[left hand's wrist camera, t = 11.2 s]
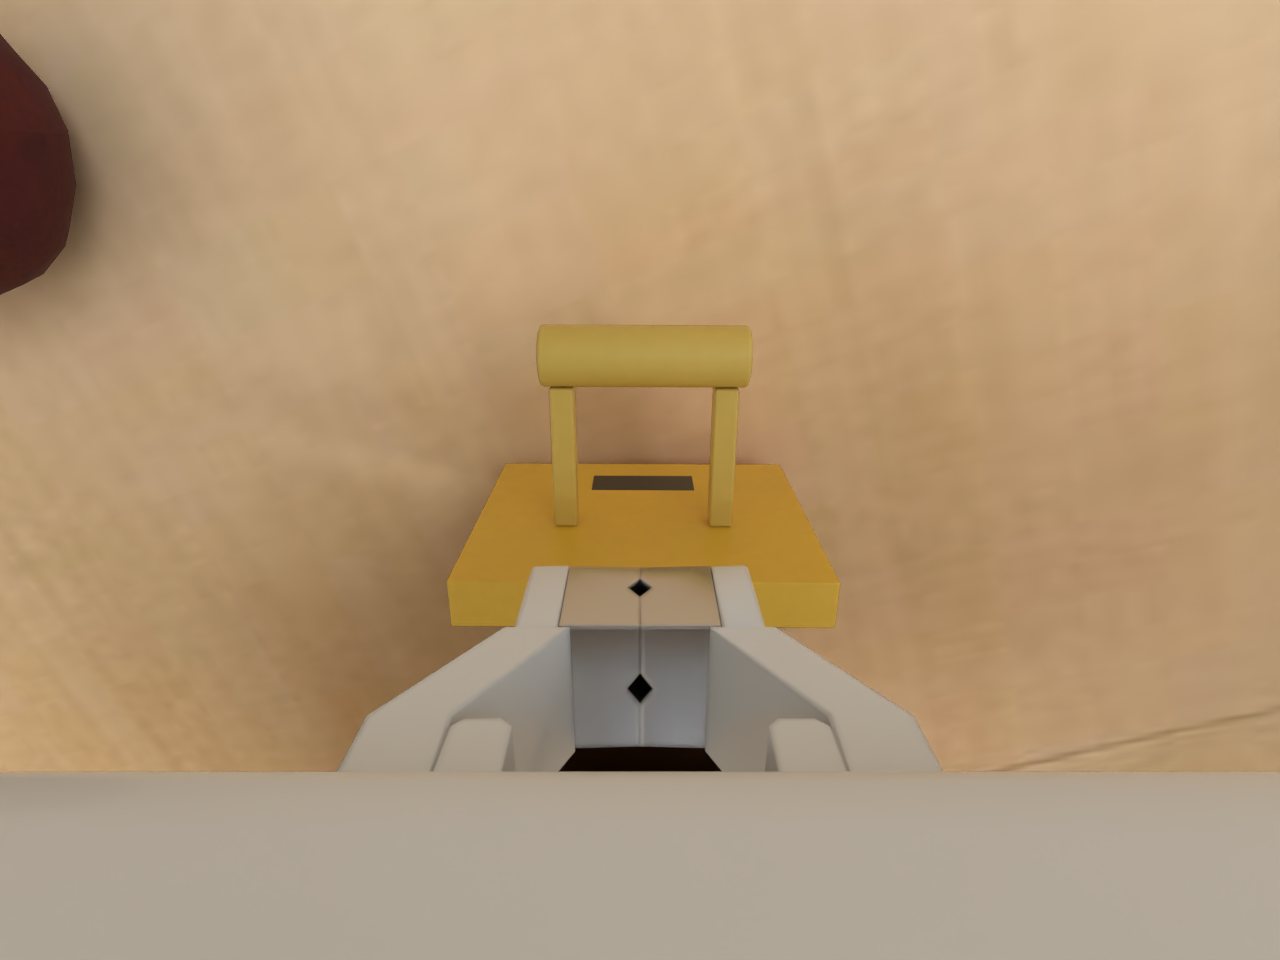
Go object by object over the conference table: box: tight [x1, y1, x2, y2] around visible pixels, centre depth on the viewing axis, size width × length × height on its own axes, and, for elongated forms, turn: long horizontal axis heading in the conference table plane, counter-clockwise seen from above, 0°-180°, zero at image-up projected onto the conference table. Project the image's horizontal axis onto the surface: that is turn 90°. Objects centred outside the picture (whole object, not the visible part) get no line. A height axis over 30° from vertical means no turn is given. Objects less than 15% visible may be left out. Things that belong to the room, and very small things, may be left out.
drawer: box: [447, 325, 840, 772], centre depth 22 cm, size 24×9×8 cm, turn 0°
